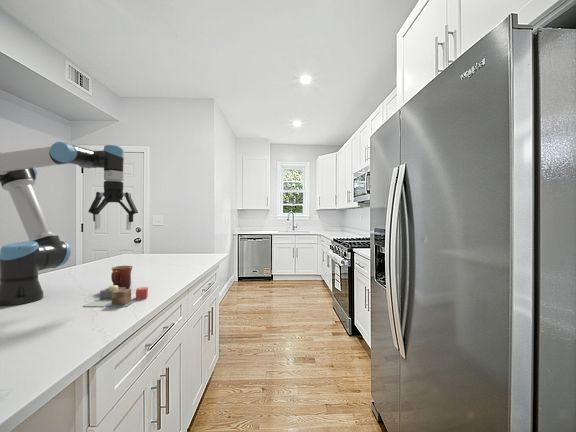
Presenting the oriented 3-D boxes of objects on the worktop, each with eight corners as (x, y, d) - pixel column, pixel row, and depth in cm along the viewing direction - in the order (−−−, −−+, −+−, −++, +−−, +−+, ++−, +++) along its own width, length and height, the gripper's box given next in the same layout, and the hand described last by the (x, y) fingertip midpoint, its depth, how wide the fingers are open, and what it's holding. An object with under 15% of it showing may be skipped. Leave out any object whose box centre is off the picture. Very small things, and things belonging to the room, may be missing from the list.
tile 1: (82, 306, 116) (82, 305, 116) (95, 300, 124) (95, 299, 124) (103, 306, 116) (103, 306, 116) (115, 300, 124) (115, 300, 124)
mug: (118, 286, 148) (118, 265, 148) (136, 286, 148) (136, 265, 148) (102, 292, 136) (102, 270, 136) (122, 293, 136) (122, 270, 136)
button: (106, 296, 127) (106, 287, 127) (111, 294, 131) (111, 285, 131) (115, 296, 127) (115, 287, 127) (120, 294, 131) (120, 285, 131)
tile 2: (105, 306, 116) (105, 306, 116) (116, 300, 124) (116, 300, 124) (126, 307, 116) (126, 306, 116) (136, 300, 124) (136, 300, 124)
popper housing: (100, 299, 125) (100, 291, 125) (109, 295, 132) (109, 287, 132) (117, 299, 125) (117, 291, 125) (125, 295, 132) (126, 287, 132)
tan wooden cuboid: (111, 305, 117) (111, 292, 117) (118, 301, 122) (118, 289, 122) (124, 305, 117) (124, 292, 117) (131, 301, 122) (131, 289, 122)
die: (135, 299, 127) (135, 288, 127) (137, 296, 130) (137, 286, 130) (146, 298, 128) (146, 288, 128) (147, 296, 132) (147, 286, 132)
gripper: (79, 179, 129) (78, 229, 129) (138, 180, 130) (137, 230, 130) (90, 181, 137) (90, 228, 137) (146, 182, 137) (145, 229, 137)
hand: (113, 229), depth 133 cm, fingers open, 13 cm apart
